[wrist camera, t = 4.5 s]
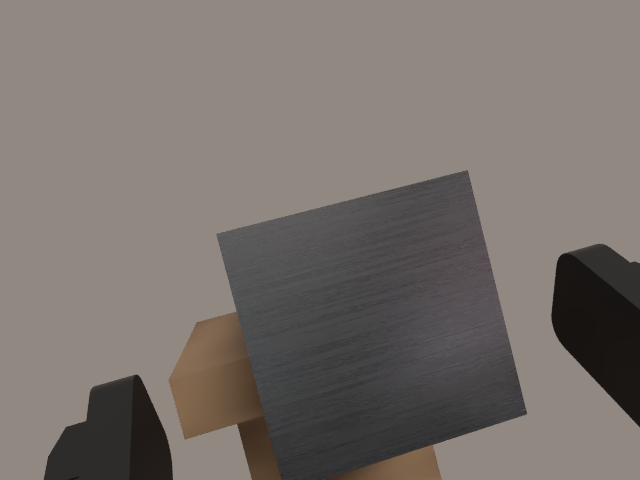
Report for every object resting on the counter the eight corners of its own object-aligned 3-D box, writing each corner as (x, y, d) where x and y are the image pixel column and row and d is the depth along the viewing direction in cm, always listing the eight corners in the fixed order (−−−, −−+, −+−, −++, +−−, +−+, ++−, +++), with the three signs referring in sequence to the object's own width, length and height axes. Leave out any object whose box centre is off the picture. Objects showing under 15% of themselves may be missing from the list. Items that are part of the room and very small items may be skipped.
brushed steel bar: (317, 284, 33) (300, 218, 32) (527, 414, 9) (467, 169, 9) (250, 303, 32) (233, 235, 32) (284, 492, 8) (216, 234, 8)
